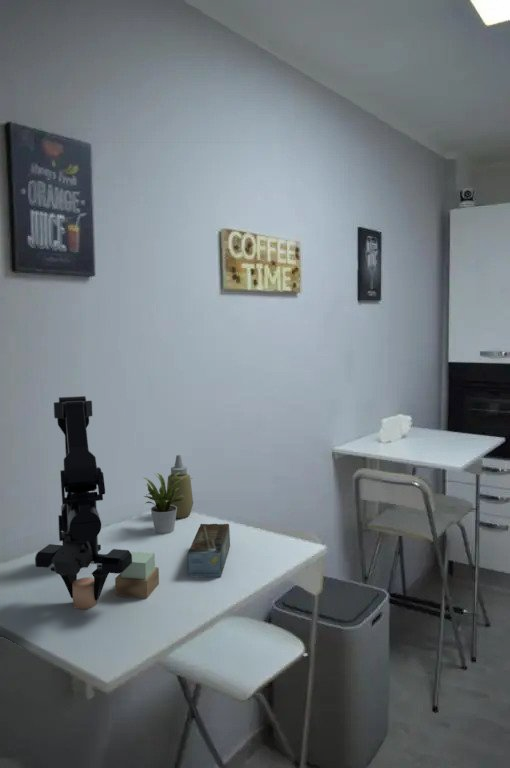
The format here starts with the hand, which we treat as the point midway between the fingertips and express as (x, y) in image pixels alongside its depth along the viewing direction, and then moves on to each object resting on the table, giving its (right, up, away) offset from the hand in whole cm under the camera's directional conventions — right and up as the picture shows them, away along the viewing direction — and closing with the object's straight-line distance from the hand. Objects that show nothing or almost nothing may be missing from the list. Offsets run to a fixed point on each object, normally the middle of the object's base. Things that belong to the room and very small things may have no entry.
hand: (85, 598), depth 126 cm
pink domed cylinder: (0, -1, 0) cm, 1 cm away
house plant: (+11, +4, +43) cm, 45 cm away
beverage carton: (+24, +1, +22) cm, 33 cm away
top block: (+10, +3, +6) cm, 12 cm away
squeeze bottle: (+13, +5, +55) cm, 57 cm away
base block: (+9, -1, +7) cm, 12 cm away
